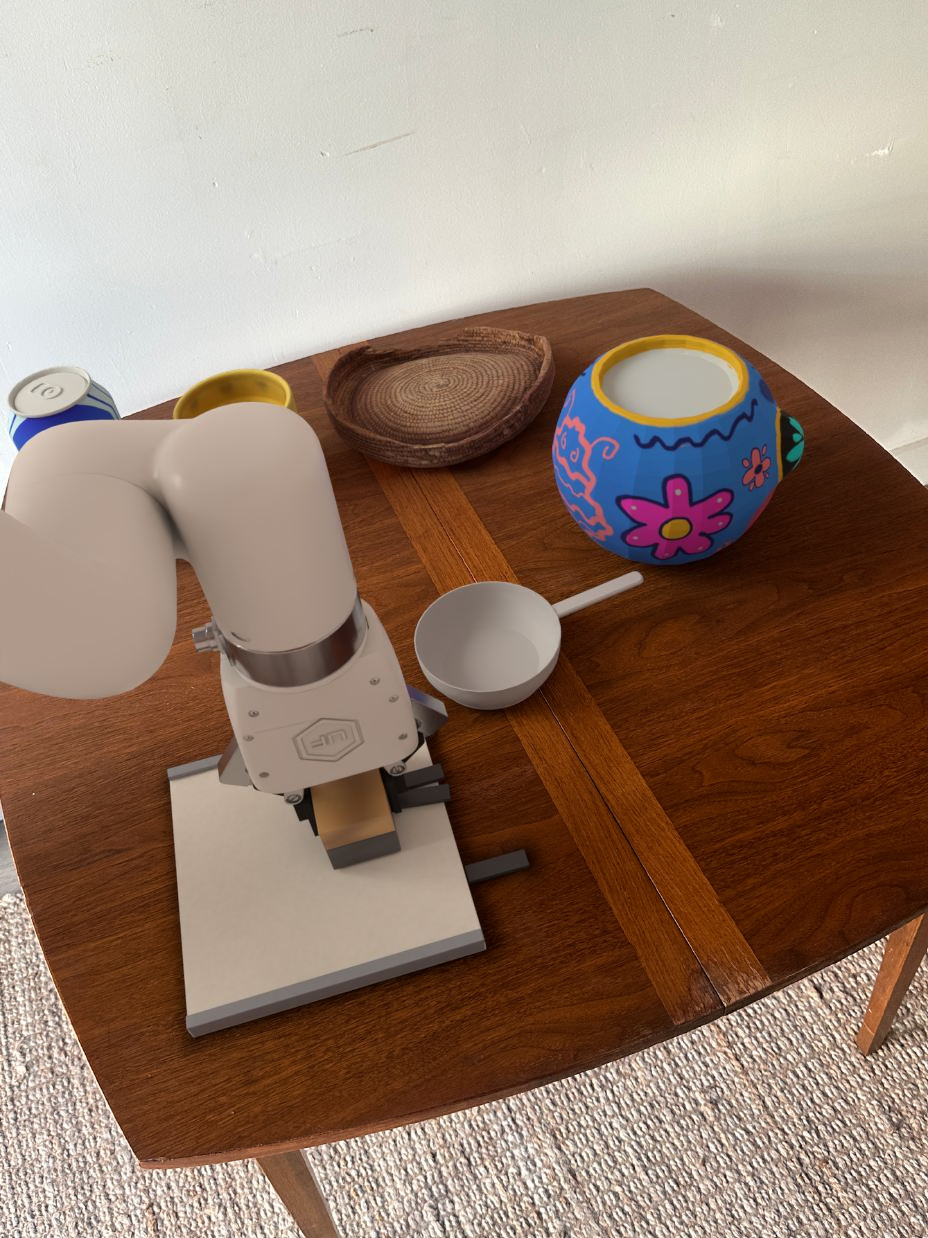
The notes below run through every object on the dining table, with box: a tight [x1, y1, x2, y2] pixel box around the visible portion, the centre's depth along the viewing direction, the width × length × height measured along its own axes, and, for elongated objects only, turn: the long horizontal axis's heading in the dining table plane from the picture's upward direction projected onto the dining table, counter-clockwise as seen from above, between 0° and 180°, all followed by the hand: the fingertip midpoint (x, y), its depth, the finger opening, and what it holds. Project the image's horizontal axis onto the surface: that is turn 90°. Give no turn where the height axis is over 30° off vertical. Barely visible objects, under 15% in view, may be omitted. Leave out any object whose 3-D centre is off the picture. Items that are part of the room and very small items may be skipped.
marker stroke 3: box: [464, 848, 530, 885], centre depth 65 cm, size 4×1×1 cm, turn 104°
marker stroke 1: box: [403, 763, 446, 790], centre depth 69 cm, size 4×1×1 cm, turn 105°
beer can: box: [6, 365, 123, 453], centre depth 85 cm, size 8×8×16 cm
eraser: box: [310, 768, 401, 870], centre depth 66 cm, size 4×8×4 cm, turn 15°
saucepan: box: [413, 570, 644, 711], centre depth 76 cm, size 11×18×4 cm, turn 112°
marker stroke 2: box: [398, 783, 452, 809], centre depth 68 cm, size 4×1×1 cm, turn 97°
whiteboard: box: [167, 738, 487, 1038], centre depth 67 cm, size 18×19×1 cm
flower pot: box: [172, 368, 299, 420], centre depth 90 cm, size 10×10×10 cm
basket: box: [321, 326, 556, 469], centre depth 97 cm, size 22×20×5 cm
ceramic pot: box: [551, 334, 806, 566], centre depth 80 cm, size 18×18×15 cm
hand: (354, 804), depth 68 cm, fingers closed on eraser, 4 cm apart
